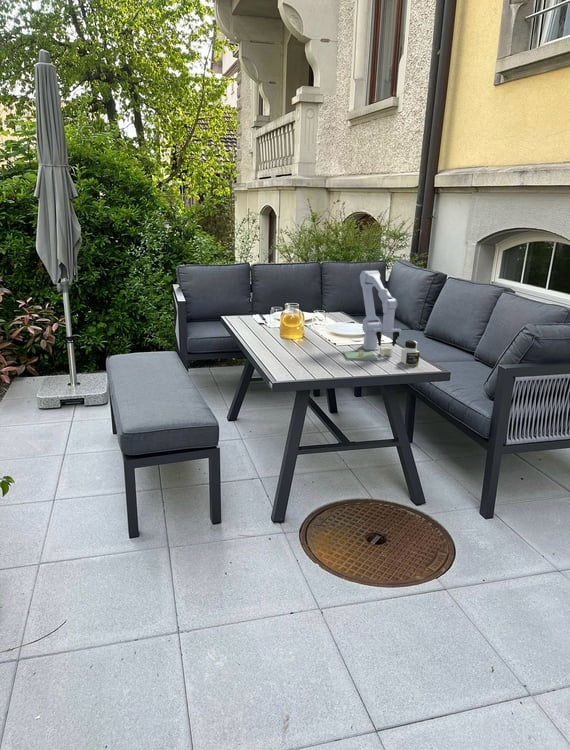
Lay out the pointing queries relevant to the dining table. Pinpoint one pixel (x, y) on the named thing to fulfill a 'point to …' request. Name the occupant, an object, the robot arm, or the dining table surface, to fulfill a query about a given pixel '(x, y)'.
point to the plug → (385, 351)
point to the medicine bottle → (410, 353)
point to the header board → (360, 355)
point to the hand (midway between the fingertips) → (386, 345)
